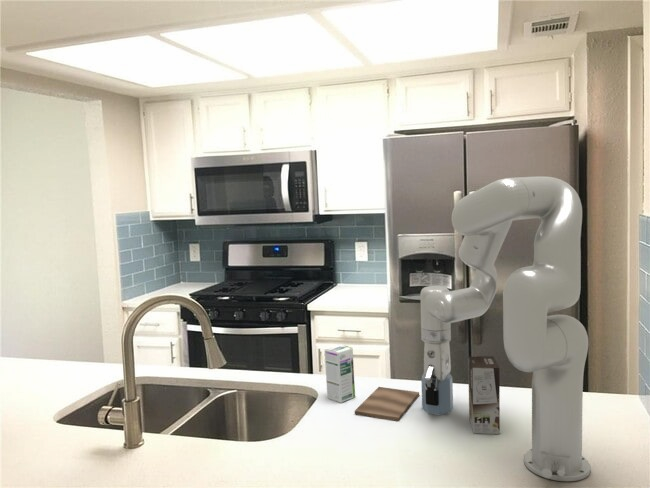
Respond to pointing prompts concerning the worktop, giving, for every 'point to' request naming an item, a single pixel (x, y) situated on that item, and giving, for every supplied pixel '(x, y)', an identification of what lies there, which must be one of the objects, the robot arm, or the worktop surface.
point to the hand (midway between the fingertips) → (437, 397)
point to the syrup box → (340, 373)
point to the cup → (444, 396)
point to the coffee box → (484, 394)
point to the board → (387, 403)
